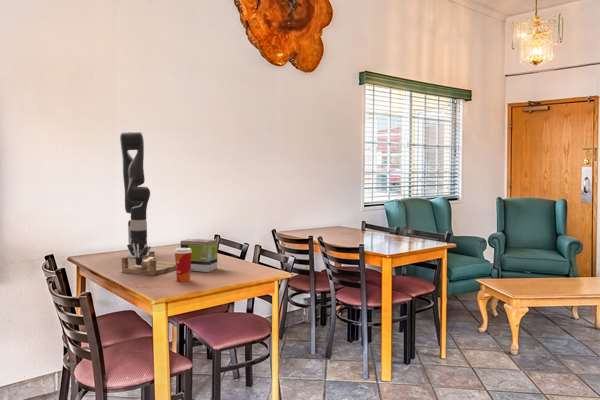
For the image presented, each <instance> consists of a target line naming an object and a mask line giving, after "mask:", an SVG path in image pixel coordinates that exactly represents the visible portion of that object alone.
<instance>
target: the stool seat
mask: <svg viewBox="0 0 600 400" xmlns="http://www.w3.org/2000/svg"><path fill="white" fill-rule="evenodd" d="M151 255H155V256H156V254H155V251H154V250H151V251H150V250H149V251H148V258H149V257H151ZM172 271H173V272H174V271H176V262H166V261H157V260H150V266H149V267H148V268H141V265H136V264H134V265H133V264H132V265H130V266H129V256H122V257H121V273H125V274H126V273H127V274H133V275H142V276H149V277H150V276H151V277H155V276H159V275H162V274H166V273H169V272H172Z"/></svg>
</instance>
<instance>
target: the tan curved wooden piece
mask: <svg viewBox="0 0 600 400" xmlns="http://www.w3.org/2000/svg"><path fill="white" fill-rule="evenodd" d="M156 258H157V257H156V254H155V255H151V257H149V256H148V257H146V259H144V260H142V262H141V268H148V267H149V266H150V260H156ZM156 261H157V260H156Z"/></svg>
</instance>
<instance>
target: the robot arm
mask: <svg viewBox="0 0 600 400" xmlns="http://www.w3.org/2000/svg"><path fill="white" fill-rule="evenodd" d="M144 142H145V141H144V136H143V132H141V131H122V132H121V133H120V135H119V144H120V146H119V147H120V150H121V151H120V152H121V158H122V161H121V162H122V175H123V178H122V179H123V186H124V209H125V212H126V213H127V214H129V215H130V220H128V222H127V234H128V244H127V245H126V247H127V248H128V258H132V259H133V258H135V265H141V262H142V261H143V257H146V256H148V254H149V251H150V250H151V248H152V247H151V245H148V221H147V211H148V210H147V209H148V204H149V201H150V197H151V190H150V189H149V187H148V186H142V185H144V183H145V180H146V179H145V172H144V171H145V170H144V155H145V146H144V145H145V144H144ZM129 151H136V154H135V155H134V157H132V155H131V154H130V152H129Z"/></svg>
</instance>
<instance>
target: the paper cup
mask: <svg viewBox="0 0 600 400" xmlns="http://www.w3.org/2000/svg"><path fill="white" fill-rule="evenodd" d="M191 252H192V251H191V248H187V249H186V248H181V247H179V248H175V249H174V252H173V253H174V261H175V262H174V263H176V270H175V274H176V275H175V276H176V282H178V283H187V282H190V281H191V272H192V271H191Z"/></svg>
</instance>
